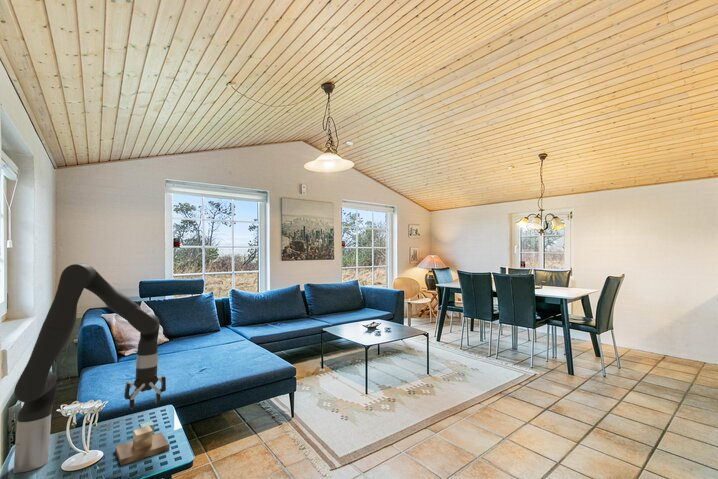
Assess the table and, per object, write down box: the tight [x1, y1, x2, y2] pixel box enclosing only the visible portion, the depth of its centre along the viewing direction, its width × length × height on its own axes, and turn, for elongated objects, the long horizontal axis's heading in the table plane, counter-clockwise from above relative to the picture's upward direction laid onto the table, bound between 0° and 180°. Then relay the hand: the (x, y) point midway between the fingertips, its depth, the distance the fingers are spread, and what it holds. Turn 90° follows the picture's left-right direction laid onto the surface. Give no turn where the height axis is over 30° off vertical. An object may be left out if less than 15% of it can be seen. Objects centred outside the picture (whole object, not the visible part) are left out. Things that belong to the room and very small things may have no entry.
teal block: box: [139, 420, 155, 435], centre depth 148 cm, size 4×4×4 cm
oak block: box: [132, 426, 153, 450], centre depth 136 cm, size 6×6×6 cm
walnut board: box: [114, 432, 171, 466], centre depth 135 cm, size 16×13×2 cm
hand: (144, 405), depth 139 cm, fingers open, 8 cm apart
